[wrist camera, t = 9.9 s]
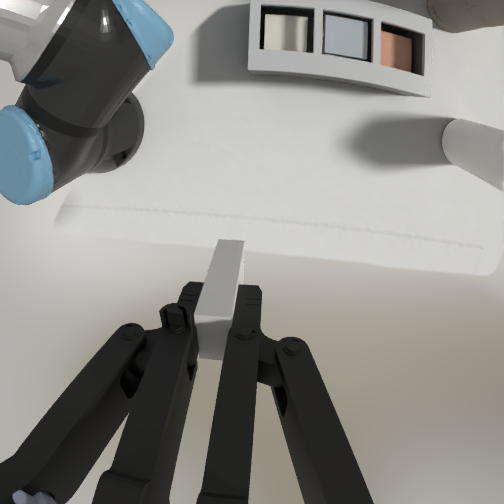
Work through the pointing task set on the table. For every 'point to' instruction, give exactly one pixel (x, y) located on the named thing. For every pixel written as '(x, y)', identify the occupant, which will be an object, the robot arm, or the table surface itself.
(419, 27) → the keypad housing
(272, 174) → the table surface
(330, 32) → the key slate
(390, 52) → the key terracotta
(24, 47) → the robot arm
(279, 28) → the key ivory
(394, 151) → the table surface
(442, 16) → the thermos bottle
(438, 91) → the table surface
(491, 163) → the white milk bottle
